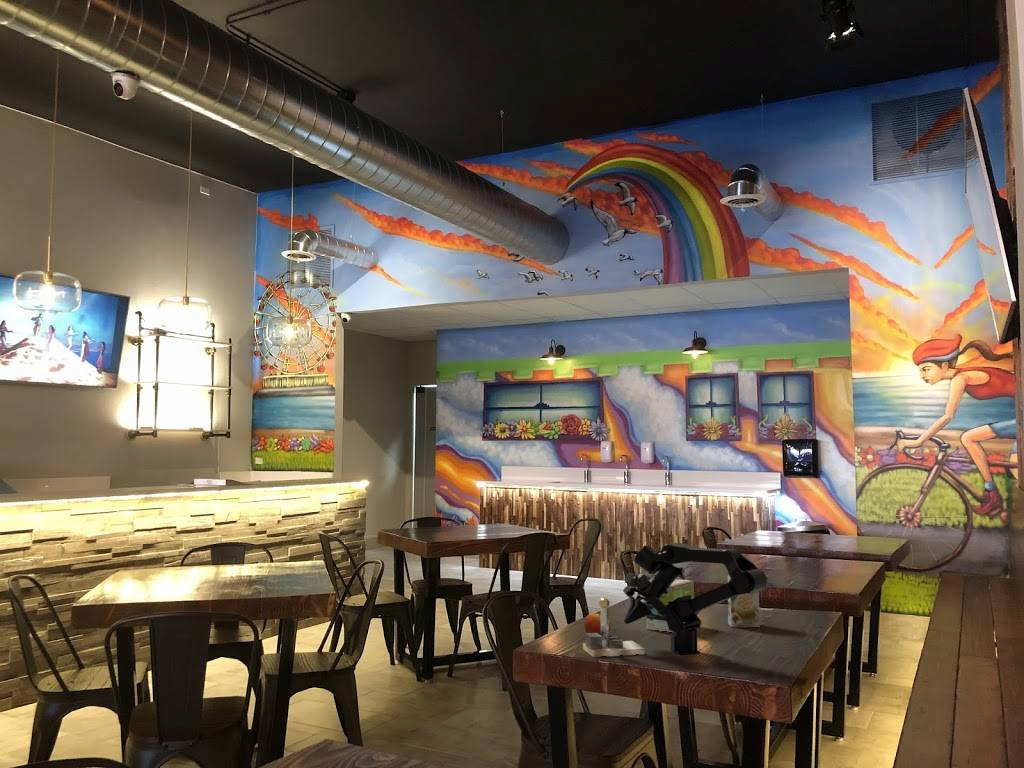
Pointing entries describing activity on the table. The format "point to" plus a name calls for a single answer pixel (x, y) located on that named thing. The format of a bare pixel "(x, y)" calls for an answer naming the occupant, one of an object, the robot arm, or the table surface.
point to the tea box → (674, 591)
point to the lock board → (610, 646)
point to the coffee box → (743, 609)
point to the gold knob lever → (604, 621)
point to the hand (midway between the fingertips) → (625, 622)
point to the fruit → (594, 623)
